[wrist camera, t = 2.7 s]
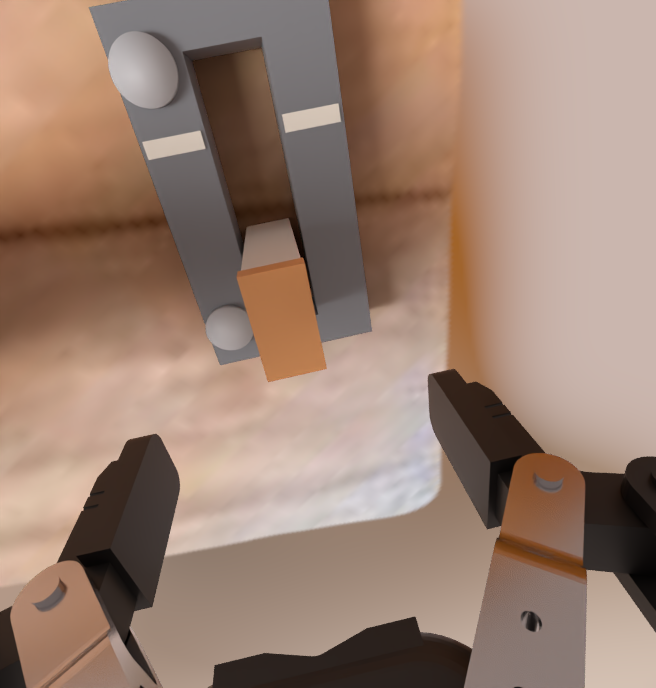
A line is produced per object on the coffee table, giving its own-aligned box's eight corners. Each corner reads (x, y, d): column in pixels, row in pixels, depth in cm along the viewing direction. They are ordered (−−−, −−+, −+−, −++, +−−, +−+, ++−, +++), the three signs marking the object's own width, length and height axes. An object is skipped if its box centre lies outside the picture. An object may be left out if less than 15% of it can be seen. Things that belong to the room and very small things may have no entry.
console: (223, 342, 28) (219, 369, 25) (112, 23, 19) (84, 4, 16) (362, 312, 29) (373, 334, 26) (315, -15, 20) (325, -40, 17)
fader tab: (265, 302, 27) (268, 382, 19) (244, 225, 24) (236, 277, 16) (306, 293, 27) (326, 368, 19) (289, 215, 24) (304, 263, 16)
